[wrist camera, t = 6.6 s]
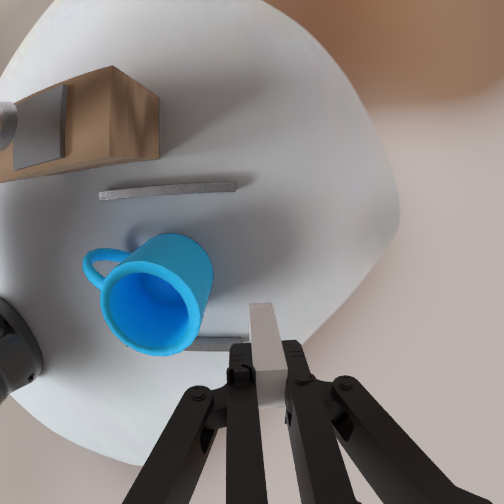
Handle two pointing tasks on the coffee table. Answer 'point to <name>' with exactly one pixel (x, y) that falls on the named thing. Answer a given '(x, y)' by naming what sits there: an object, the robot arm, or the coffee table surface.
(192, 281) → the mug
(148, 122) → the end cabinet
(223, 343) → the pair of gray bars
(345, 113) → the coffee table surface
